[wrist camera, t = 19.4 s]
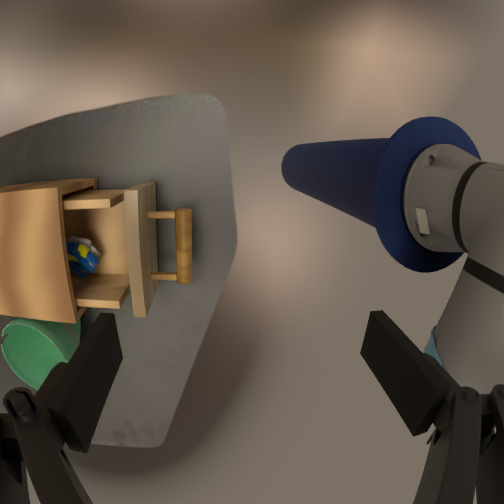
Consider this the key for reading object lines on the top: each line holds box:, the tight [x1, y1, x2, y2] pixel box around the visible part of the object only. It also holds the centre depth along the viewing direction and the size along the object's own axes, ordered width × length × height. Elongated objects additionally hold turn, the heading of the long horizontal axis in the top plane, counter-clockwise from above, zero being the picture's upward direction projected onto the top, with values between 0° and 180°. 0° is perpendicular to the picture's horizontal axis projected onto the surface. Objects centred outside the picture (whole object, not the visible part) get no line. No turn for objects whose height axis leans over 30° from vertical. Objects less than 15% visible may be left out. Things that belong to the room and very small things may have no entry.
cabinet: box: [0, 177, 98, 324], centre depth 26 cm, size 14×13×10 cm
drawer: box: [62, 181, 192, 318], centre depth 27 cm, size 17×11×8 cm
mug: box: [1, 317, 81, 390], centre depth 30 cm, size 15×10×10 cm
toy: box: [66, 235, 100, 278], centre depth 28 cm, size 5×4×5 cm
